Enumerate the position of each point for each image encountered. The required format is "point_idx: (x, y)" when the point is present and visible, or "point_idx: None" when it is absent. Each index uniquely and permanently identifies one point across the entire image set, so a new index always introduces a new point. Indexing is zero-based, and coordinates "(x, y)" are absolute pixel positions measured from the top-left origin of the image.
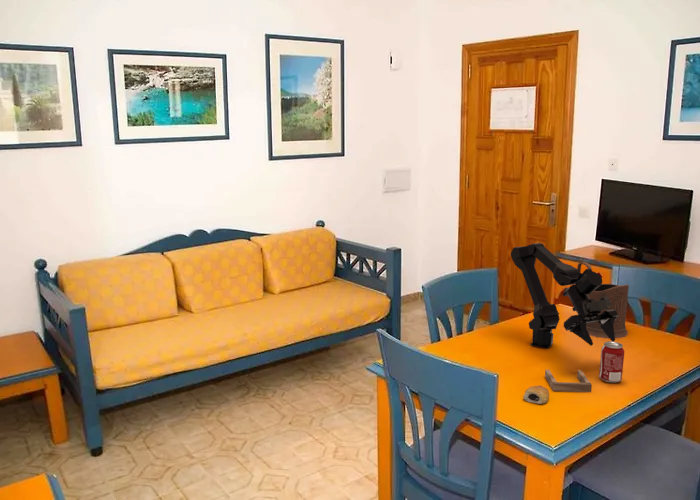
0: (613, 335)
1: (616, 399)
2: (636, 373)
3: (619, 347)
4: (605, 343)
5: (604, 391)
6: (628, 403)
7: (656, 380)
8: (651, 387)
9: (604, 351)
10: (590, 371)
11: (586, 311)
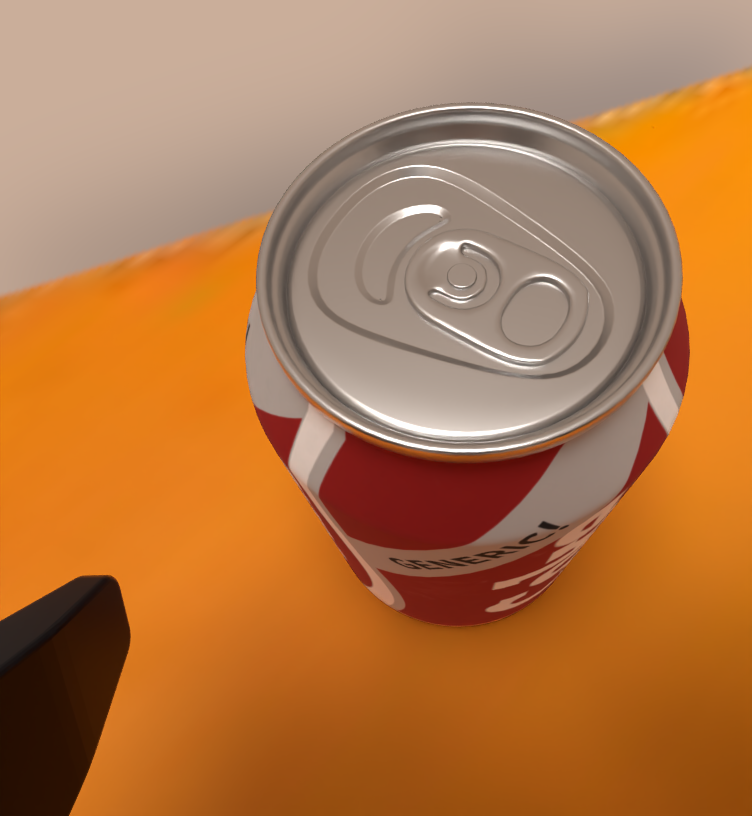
0: (9, 641)
1: (695, 175)
2: (61, 532)
3: (465, 105)
4: (559, 420)
5: (704, 315)
6: (642, 107)
7: (52, 344)
8: (225, 255)
9: (686, 321)
10: (512, 804)
11: None
